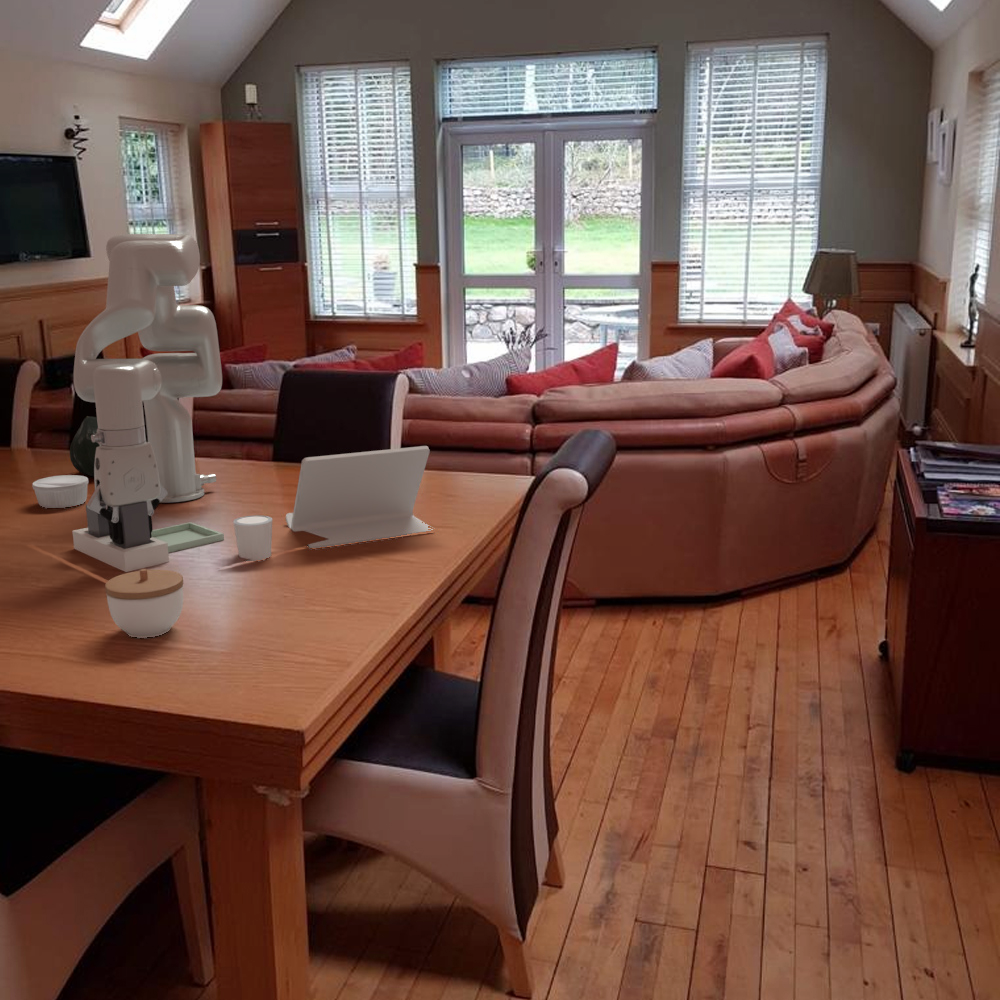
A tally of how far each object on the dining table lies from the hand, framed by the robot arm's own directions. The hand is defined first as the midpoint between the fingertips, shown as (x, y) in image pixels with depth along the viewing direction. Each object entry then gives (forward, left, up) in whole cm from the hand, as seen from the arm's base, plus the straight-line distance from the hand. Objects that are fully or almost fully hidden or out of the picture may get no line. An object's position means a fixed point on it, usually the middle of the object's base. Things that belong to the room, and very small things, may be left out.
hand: (131, 538), depth 183 cm
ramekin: (-10, -52, -5) cm, 53 cm away
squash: (-30, -74, -5) cm, 80 cm away
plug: (0, 0, -1) cm, 1 cm away
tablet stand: (-41, +11, -5) cm, 43 cm away
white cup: (-17, +12, -5) cm, 21 cm away
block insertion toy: (0, -5, -5) cm, 7 cm away
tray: (-12, -6, -5) cm, 14 cm away
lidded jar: (+14, +32, -5) cm, 35 cm away
